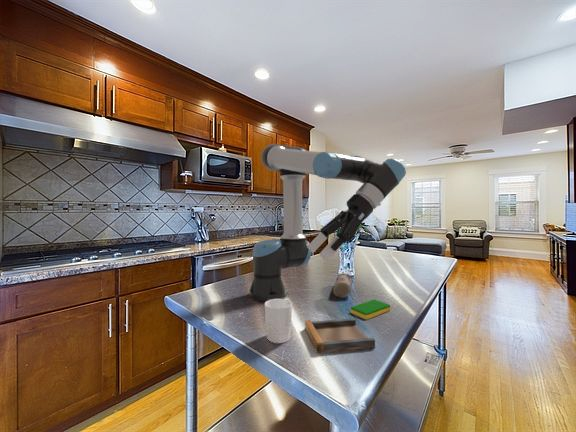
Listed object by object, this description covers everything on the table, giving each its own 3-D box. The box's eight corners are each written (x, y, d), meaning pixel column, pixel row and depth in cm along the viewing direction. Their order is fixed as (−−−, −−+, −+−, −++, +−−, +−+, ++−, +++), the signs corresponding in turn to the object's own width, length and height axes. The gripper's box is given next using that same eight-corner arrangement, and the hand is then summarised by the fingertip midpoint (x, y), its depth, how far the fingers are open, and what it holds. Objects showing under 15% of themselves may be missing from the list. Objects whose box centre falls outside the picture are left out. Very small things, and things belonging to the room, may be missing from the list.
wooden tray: (354, 324, 82) (354, 316, 82) (375, 347, 69) (375, 338, 68) (305, 328, 79) (305, 320, 79) (317, 353, 66) (317, 343, 66)
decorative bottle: (351, 299, 105) (351, 283, 105) (332, 297, 107) (332, 281, 107) (353, 281, 130) (353, 268, 129) (338, 280, 132) (338, 267, 132)
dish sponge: (349, 313, 92) (350, 306, 91) (374, 305, 99) (374, 299, 99) (366, 320, 86) (366, 313, 86) (390, 311, 94) (390, 304, 94)
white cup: (264, 331, 77) (264, 298, 77) (290, 330, 78) (290, 298, 78) (264, 345, 70) (264, 309, 69) (293, 344, 70) (293, 308, 70)
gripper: (396, 210, 65) (340, 272, 63) (354, 210, 89) (313, 255, 87) (377, 189, 64) (319, 251, 62) (340, 195, 88) (298, 239, 86)
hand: (315, 253), depth 74 cm, fingers open, 13 cm apart
